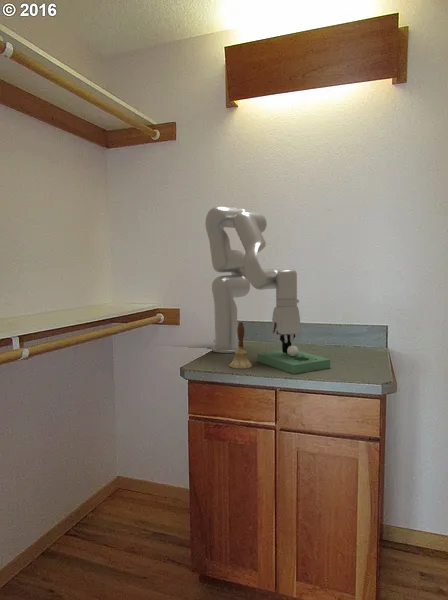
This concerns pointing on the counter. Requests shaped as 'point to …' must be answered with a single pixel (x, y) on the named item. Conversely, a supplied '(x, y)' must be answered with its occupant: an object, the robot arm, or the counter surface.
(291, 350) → the ball
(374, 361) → the counter surface
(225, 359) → the counter surface
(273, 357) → the block
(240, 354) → the hand bell
